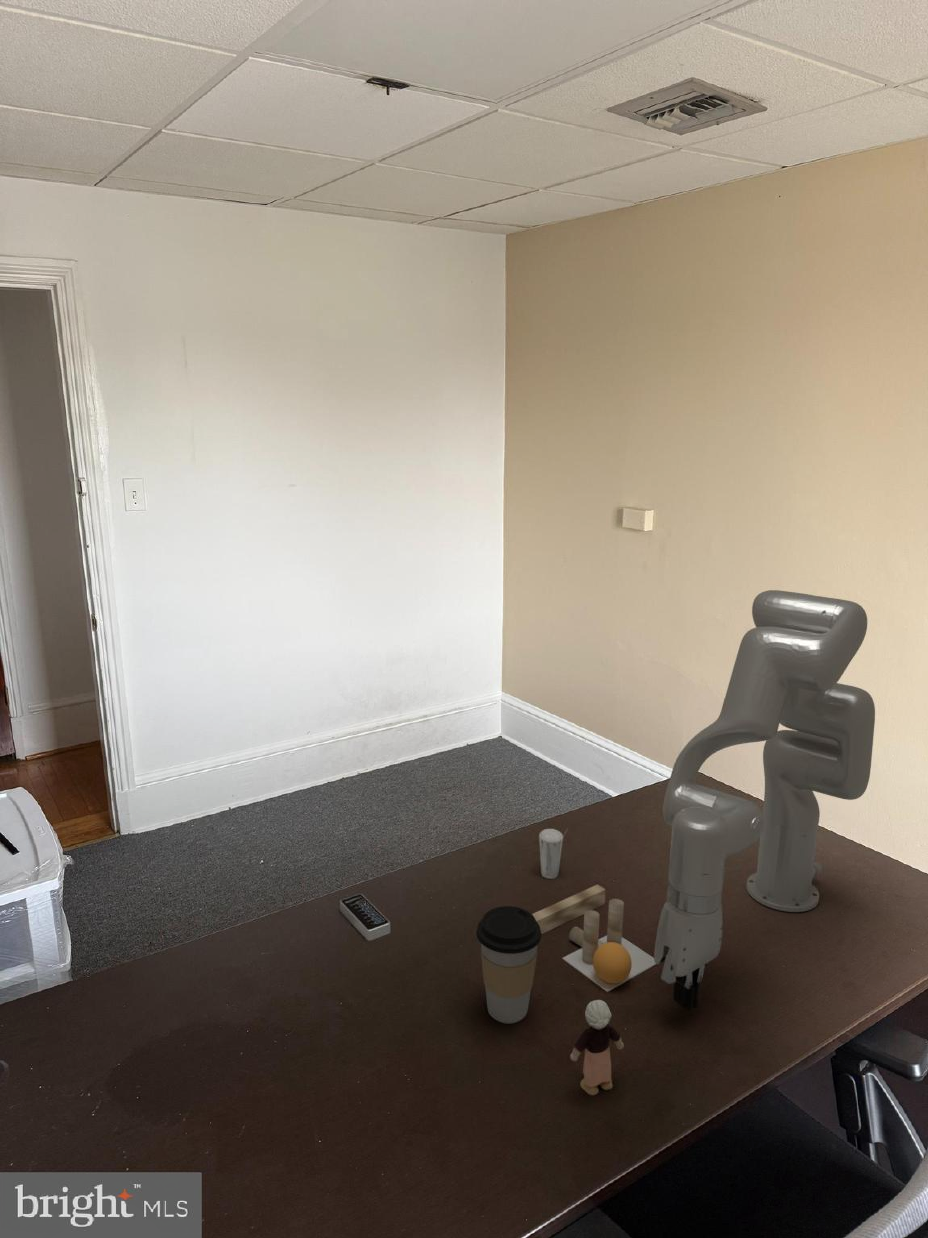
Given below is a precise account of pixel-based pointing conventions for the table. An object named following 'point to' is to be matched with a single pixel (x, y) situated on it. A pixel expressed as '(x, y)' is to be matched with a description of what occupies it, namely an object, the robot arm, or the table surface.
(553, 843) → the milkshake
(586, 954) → the left pin
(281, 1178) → the table surface
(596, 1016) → the grandmother figurine
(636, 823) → the table surface
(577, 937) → the front pin
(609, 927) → the right pin
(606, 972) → the ball
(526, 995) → the coffee cup
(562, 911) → the back rail
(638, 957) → the pin deck mark
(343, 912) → the multiport hub
